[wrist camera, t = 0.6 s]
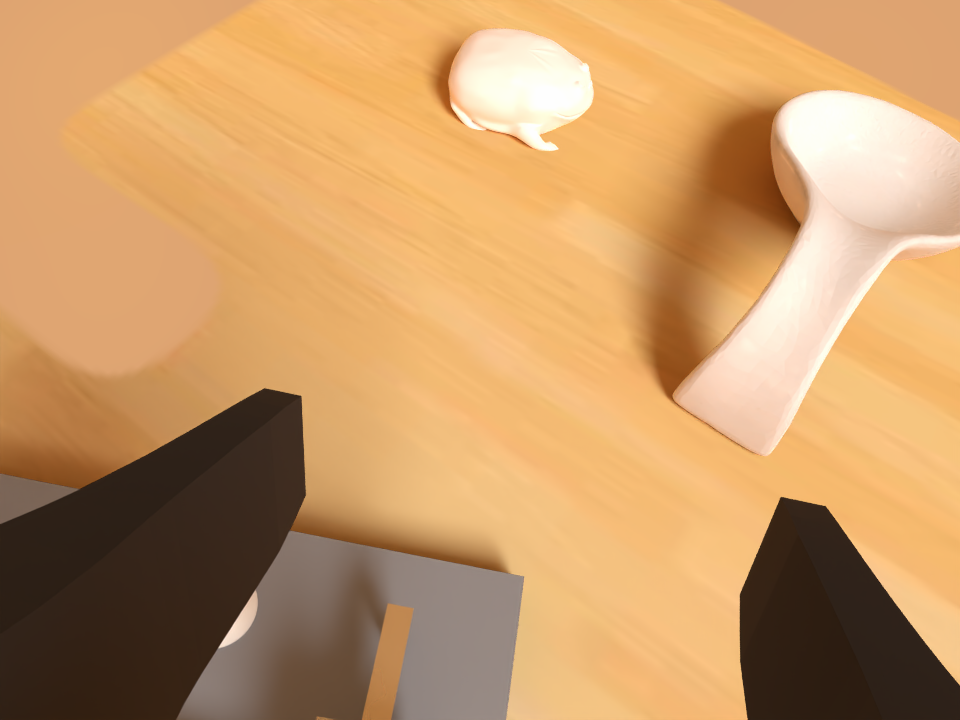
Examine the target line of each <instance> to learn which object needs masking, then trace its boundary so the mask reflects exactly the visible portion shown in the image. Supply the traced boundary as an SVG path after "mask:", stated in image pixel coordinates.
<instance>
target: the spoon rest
mask: <svg viewBox="0 0 960 720" xmlns="http://www.w3.org/2000/svg"><path fill="white" fill-rule="evenodd" d="M771 157H772V164H773V169H774V174H775V178H776V181H777V184H778V187H779V189H780V191H781V194H782V196H783V197H784V199H785V201H786V203H787V205H788V206H789V208H790V209H791V211H792V213H793V215H794V217H795V218H796V220H797V221H798V223H799V224H800V225H801V226H800V228H799V231H798V233H797V235H796V237H795V239H794V241H793V243H792V244H791V246H790V248H789V250H788V251H787V253H786V255H785V257H784V259H783V260H782V262H781V264H780V266H779V267H778V269H777V271H776V272H775V274H774V275H773V277H772V278H771V280H770V282H769V283H768V284H767V286H766V287H765V289H764V290H763V292H762V293H761V295H760V296H759V298H758V299H757V300H756V302H755V303H754V304H753V306H752V307H751V308H750V309H749V310H748V311H747V313H746V314H745V315H744V316H743V317H742V319H741V320H740V321H739V322H738V323H737V325H736V326H735V327H734V328H733V329H732V330H731V332H730V333H729V334H728V335H727V336H726V337H725V338H724V339H723V341H722V342H721V343H720V344H719V345H718V346H716V347H715V348H714V349H713V350H712V351H711V353H710V354H709V355H708V356H707V357H706V358H705V359H704V360H703V361H702V362H701V363H699V365H698V366H697V367H696V368H695V369H694V370H693V371H692V372H691V373H690V374H689V375H688V376H687V377H686V378H685V379H684V380H683V381H682V382H681V383H680V385H679V386H678V387H677V389H676V390H675V391H674V393H673V395H672V397H673V399H674V401H675V402H676V403H677V404H678V405H680V406H681V407H682V408H684V409H685V410H687V411H688V412H689V413H691V414H693V415H694V416H696V417H697V418H699V419H701V420H702V421H704V422H706V423H707V424H709V425H710V426H711V427H713V428H714V429H716V430H717V431H719V432H720V433H722V434H723V435H725V436H727V437H728V438H730V439H731V440H733V441H734V442H736V443H738V444H739V445H741V446H743V447H744V448H746V449H748V450H750V451H752V452H754V453H756V454H759V455H762V456H767V455H769V454H770V453H771V452H772V451H773V449H774V448H775V447H776V446H777V444H778V443H779V441H780V440H781V438H782V436H783V435H784V433H785V432H786V430H787V429H788V427H789V426H790V424H791V422H792V420H793V418H794V416H795V414H796V412H797V410H798V408H799V406H800V404H801V402H802V400H803V398H804V396H805V394H806V392H807V390H808V389H809V387H810V385H811V383H812V381H813V379H814V377H815V375H816V373H817V372H818V370H819V368H820V366H821V365H822V363H823V361H824V359H825V357H826V356H827V354H828V352H829V350H830V349H831V347H832V345H833V344H834V342H835V340H836V339H837V337H838V335H839V334H840V332H841V330H842V329H843V327H844V326H845V324H846V323H847V321H848V319H849V318H850V316H851V315H852V313H853V312H854V310H855V309H856V307H857V306H858V304H859V303H860V301H861V300H862V298H863V297H864V295H865V294H866V293H867V291H868V290H869V288H870V287H871V286H872V284H873V283H874V282H875V280H876V279H877V277H878V276H879V275H880V273H881V272H882V270H883V269H884V268H885V267H886V266H887V264H888V263H889V262H890V261H891V260H910V259H917V258H923V257H928V256H933V255H936V254H940V253H943V252H946V251H949V250H952V249H955V248H957V247H959V246H960V143H959V142H958V141H957V140H956V139H954V138H953V137H952V136H950V135H949V134H948V133H946V132H945V131H943V130H942V129H940V128H939V127H937V126H936V125H934V124H932V123H931V122H929V121H927V120H925V119H923V118H921V117H919V116H917V115H915V114H913V113H911V112H909V111H907V110H905V109H903V108H900V107H898V106H896V105H894V104H891V103H889V102H886V101H884V100H881V99H877V98H874V97H870V96H867V95H863V94H858V93H853V92H847V91H840V90H819V91H812V92H808V93H804V94H801V95H799V96H796V97H794V98H792V99H791V100H789V101H787V102H786V103H785V104H784V105H782V106H781V108H780V109H779V110H778V111H777V113H776V115H775V117H774V120H773V123H772V131H771Z"/></svg>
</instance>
